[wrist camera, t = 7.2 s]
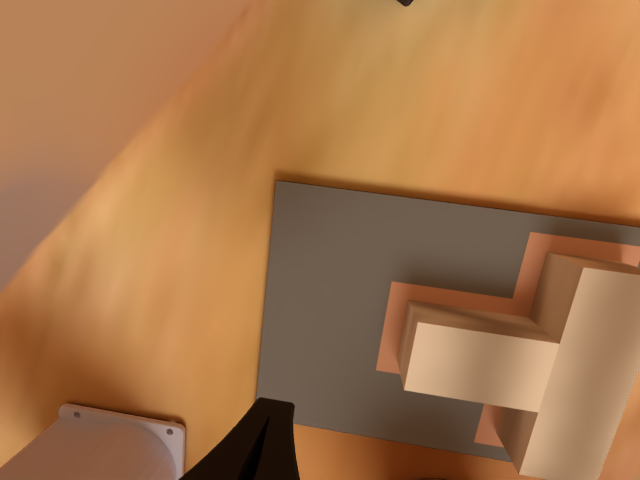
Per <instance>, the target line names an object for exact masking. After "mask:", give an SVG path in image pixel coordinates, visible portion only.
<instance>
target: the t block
mask: <svg viewBox="0 0 640 480" xmlns="http://www.w3.org/2000/svg"><path fill="white" fill-rule="evenodd" d="M397 363H398V367H399V371H400V375H401V379H402V384H403V388H404V390H406V391H412V392H418V393H424V394H430V395H436V396H442V397H448V398H454V399H460V400H466V401H472V402H478V403H484V404H490V405H496V406H502V407H503V409H502V412H501V416H500V419H499V423H498V426H497V430H496V433H497V435H498V437H499V439H500V441H501V442H502V444H503V446H504V448H505V450H506V452H507V453H508V455H509V457H510V459H511V461H512V463H513V464H514V466H515V468H516V470H517V472H518V473H519V475H525V476H531V477H536V478H542V479H547V480H598V478H599V475H600V473H601V470H602V467H603V465H604V462H605V460H606V457H607V454H608V452H609V449H610V446H611V444H612V441H613V438H614V436H615V433H616V431H617V428H618V425H619V423H620V420H621V417H622V415H623V412H624V409H625V407H626V404H627V401H628V399H629V396H630V394H631V391H632V388H633V386H634V383H635V380H636V378H637V375H638V372H639V370H640V268H638V267H635V266H632V265H629V264H627V263H624V262H619V261H612V260H604V259H597V258H589V257H582V256H575V255H567V254H560V253H552V252H547V253H546V257H545V260H544V264H543V267H542V271H541V274H540V278H539V281H538V285H537V289H536V292H535V296H534V299H533V303H532V306H531V310H530V313H529V317H522V316H516V315H509V314H502V313H495V312H489V311H482V310H475V309H468V308H462V307H455V306H448V305H441V304H435V303H428V302H421V301H414V300H408V302H407V308H406V313H405V318H404V323H403V328H402V334H401V339H400V344H399V349H398V354H397Z"/></svg>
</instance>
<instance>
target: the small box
mask: <svg viewBox="0 0 640 480" xmlns="http://www.w3.org/2000/svg"><path fill="white" fill-rule="evenodd" d="M397 1H398V2H400V3H401V4H402V5H404V6H408V5H410V4H411V2H412V1H413V0H397Z"/></svg>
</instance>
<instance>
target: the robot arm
mask: <svg viewBox="0 0 640 480" xmlns="http://www.w3.org/2000/svg"><path fill="white" fill-rule="evenodd" d="M294 410H295V405H294V404H293V403H292V402H286V401H280V400H275V399H269V398H263V397H260V398H258V399H257V400H256V401H255V403H254V404H253V405H252V407H251V408H250V409H249V410H248V412H247V413H246V414H245V415H244V417H243V418H242V419H241V420H240V421H239V422H238V423H237V425H236V426H235V427H234V428H233V429H232V430H231V431H230V432H229V433H228V434H227V435H226V437H225V438H224V439H223V440H222V441H221V442H220V443H219V444H218V445H217V446H215V447H214V448H213V449H212V450H211V451H210V452H209V453H208V454H207V455H206V456H205V457H204V458H203V459H202V460H201V461H200V462H199V463H197V464H196V465H195V466H194V467H193V468H192V469H190V470H189V471H188V472H187V473H186V474H184V458H185V427H184V426H183V425H182V424H179V423H173V422H168V421H162V420H156V419H151V418H145V417H140V416H134V415H129V414H123V413H118V412H112V411H107V410H101V409H96V408H90V407H85V406H79V405H74V404H68V403H65V404H63V405H62V406H61V407H60V408H59V409H58V415H59V419H57V420H56V421H55V422H54V423H53V424H51V425H50V426H49V427H48V428H47V429H46V430H44V431H43V432H42V433H41V434H40V435H38V436H37V437H36V438H35V439H34V440H33V441H31V442H30V443H29V444H28V445H27V446H26V447H24V448H23V449H22V450H21V451H20V452H19V453H17V454H16V455H15V456H14V457H13V458H11V459H10V460H9V461H8V462H7V463H6V464H4V465H3V466H2V467H1V468H0V480H300V477H299V472H298V466H297V461H296V454H295V445H294V435H293V418H294ZM170 429H171V430H170Z"/></svg>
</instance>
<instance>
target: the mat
mask: <svg viewBox="0 0 640 480" xmlns="http://www.w3.org/2000/svg"><path fill="white" fill-rule="evenodd" d="M547 252H552V253H560V254H567V255H575V256H582V257H589V258H597V259H604V260H612V261H619V262H624V263H627V264H629V265H632V266H635V267H638V268H640V227H636V226H628V225H621V224H613V223H605V222H597V221H589V220H582V219H574V218H566V217H558V216H551V215H543V214H535V213H527V212H520V211H512V210H504V209H496V208H489V207H481V206H473V205H465V204H458V203H450V202H442V201H434V200H427V199H419V198H411V197H403V196H395V195H388V194H380V193H372V192H364V191H357V190H349V189H341V188H333V187H326V186H318V185H310V184H302V183H295V182H287V181H279V180H277V181H276V185H275V196H274V207H273V218H272V229H271V240H270V251H269V263H268V274H267V285H266V296H265V307H264V318H263V329H262V340H261V351H260V362H259V373H258V384H257V395H256V400H257V399H258V398H260V397H263V398H269V399H275V400H280V401H286V402H292V403H293V404H294V405H295V410H294V418H293V424H299V425H304V426H310V427H316V428H321V429H327V430H333V431H338V432H344V433H350V434H355V435H361V436H367V437H372V438H378V439H384V440H389V441H395V442H401V443H406V444H412V445H418V446H423V447H429V448H435V449H440V450H446V451H451V452H457V453H463V454H468V455H474V456H480V457H485V458H491V459H497V460H502V461H508V462H512V461H511V459H510V457H509V455H508V453H507V452H506V450H505V448H504V446H503V444H502V442H501V441H500V439H499V437H498V435H497V433H496V430H497V426H498V423H499V419H500V416H501V412H502V409H503V407H502V406H496V405H490V404H484V403H478V402H472V401H466V400H460V399H454V398H448V397H442V396H436V395H430V394H424V393H418V392H412V391H406V390H404V388H403V384H402V379H401V375H400V371H399V367H398V363H397V354H398V349H399V344H400V339H401V334H402V328H403V323H404V318H405V313H406V308H407V302H408V300H414V301H421V302H428V303H435V304H441V305H448V306H455V307H462V308H468V309H475V310H482V311H489V312H495V313H502V314H509V315H516V316H522V317H529V313H530V310H531V306H532V303H533V299H534V296H535V292H536V289H537V285H538V281H539V278H540V274H541V271H542V267H543V264H544V260H545V257H546V253H547Z"/></svg>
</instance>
